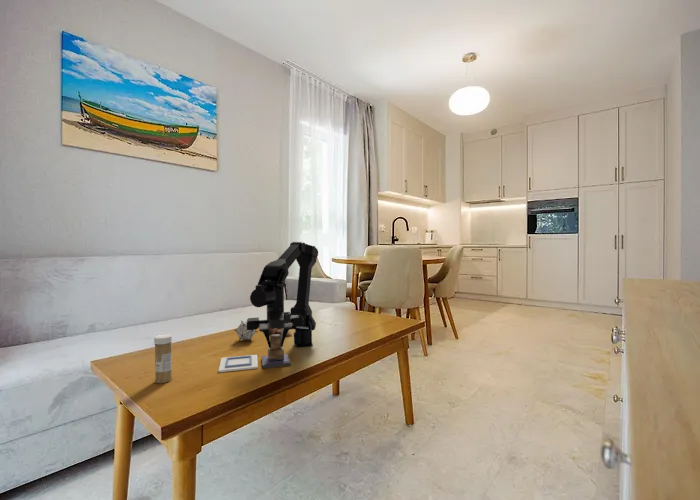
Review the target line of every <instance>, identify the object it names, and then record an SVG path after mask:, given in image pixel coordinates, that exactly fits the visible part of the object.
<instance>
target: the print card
mask: <svg viewBox="0 0 700 500" xmlns="http://www.w3.org/2000/svg"><path fill="white" fill-rule="evenodd" d="M255 369H256V370H257V369H259V364H258V354H249V355H247V354H246V355H239V356H226V357H221V358H220V362H219V366H218V371H217V372H218V373H225V372H226V373H227V372H236V371H246V370H255Z"/></svg>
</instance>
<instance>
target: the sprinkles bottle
mask: <svg viewBox="0 0 700 500" xmlns="http://www.w3.org/2000/svg"><path fill="white" fill-rule="evenodd" d="M172 337H173V336H172V334H167V333H165V334H159V335H156V336H154V337H153V343H154V370H155V378H154V381H155V383H156V384H164V383H168V382H170V381H172V379H173V376H172V375H173V374H172V370H173V369H172V366H173V363H172V361H173V359H172V356H173V355H172V354H173V353H172V352H173V351H172V341H173V339H172Z"/></svg>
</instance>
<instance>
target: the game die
mask: <svg viewBox="0 0 700 500" xmlns="http://www.w3.org/2000/svg"><path fill="white" fill-rule="evenodd" d="M240 321H241V323H240V324H239V325H238V326H237V328H235V329H233V331H236V334H237V336H238V342H240V341H241V340H242V341H243V340H244V341H246V340H247V341H249V342H252V338H253V336H254V335H255V334H256V333H259V330H247V321H243V320H240Z"/></svg>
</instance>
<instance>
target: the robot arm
mask: <svg viewBox="0 0 700 500" xmlns="http://www.w3.org/2000/svg"><path fill="white" fill-rule="evenodd" d="M318 256H319V250H318V248H316V246H315V245H311V244H307V243H305V242H304V241H292V242H290V245H289V246H288V248H287V249H286V250H285V251H284V252H283V253H282V254H281V255H280V256H279V257H278V259H276V260H273V261H270V262H269V263H267V264H266V265H265V266H264V267H263V269H262V271H261V274H260V277H259V279H258V282H257V284H256V285H255V289H253V290H252V292H251V293H250V296H249V300H250V303H251V305H253V306H254V307H256V308H261V307H265V306H266V319H260V317H248V318H247V319H246V322H247V330H256V331H258V332H261V333H263V335H264V337H265V339H266V342H267V345H268V347H269V348H271V344H270V333H269V332H270V331H269V330H268V325H269V328H270V329H274V328H282V334H281V347H282V346H283V347H284V343H285V340H286V338H287V337H286V335H287V332H288V331H289V332H290V330H294V332H293V344H294V345H295V347H297V348H298V347H299V348H301V347H310V346H313V345H314V344H313V341H312V340H313V337H312V336H313V333H312V332H313V331H315V330H316V327H317V325H316V324H317V322H316V321H315V319H314V317H313V310H312V308H311V306H310V304H309V303H310V292H311V291H310V290H311V280H312V279H311V278H312V270H313V267H314V266H315V265H316V263H317V261H318V260H317V259H318ZM295 261H296V262H297V264H298V266H299V270H298V271H299V272H298V280H297V281H298V282H297V293H296V301H295V302H296V303H295V304H294V305H293V306H292V307H291V308H290V309H289V310H290V311H285V293H284V292H285V290H284V289H285V287H287V284H286V283H285V281H286V279H287V278H288V276H289V274H290V273H289V269H290V267H291V266H292V265H293V264H294V262H295Z"/></svg>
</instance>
